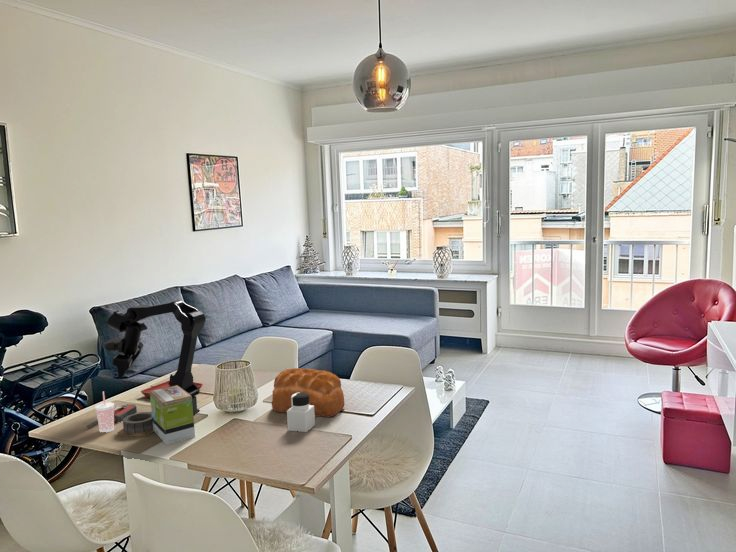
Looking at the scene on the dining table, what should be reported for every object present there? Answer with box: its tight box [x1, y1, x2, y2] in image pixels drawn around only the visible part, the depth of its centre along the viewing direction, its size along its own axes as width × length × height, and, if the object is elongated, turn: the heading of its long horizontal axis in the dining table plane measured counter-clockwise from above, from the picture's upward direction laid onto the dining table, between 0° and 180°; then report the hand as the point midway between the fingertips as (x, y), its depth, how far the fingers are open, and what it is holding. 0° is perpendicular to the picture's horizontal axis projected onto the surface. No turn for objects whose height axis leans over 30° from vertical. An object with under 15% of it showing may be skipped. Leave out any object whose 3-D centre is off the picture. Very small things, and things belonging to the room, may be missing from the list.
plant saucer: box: [140, 379, 204, 398], centre depth 235 cm, size 18×18×3 cm
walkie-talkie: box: [85, 403, 138, 429], centre depth 207 cm, size 9×4×20 cm
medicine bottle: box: [286, 392, 316, 433], centre depth 193 cm, size 7×7×12 cm
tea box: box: [149, 385, 196, 446], centre depth 191 cm, size 15×10×15 cm, turn 36°
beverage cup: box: [94, 391, 115, 433], centre depth 197 cm, size 6×6×14 cm
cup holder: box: [116, 411, 155, 437], centre depth 197 cm, size 11×11×4 cm
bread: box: [271, 367, 345, 418], centre depth 211 cm, size 14×26×16 cm, turn 68°
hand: (123, 373), depth 219 cm, fingers open, 9 cm apart
